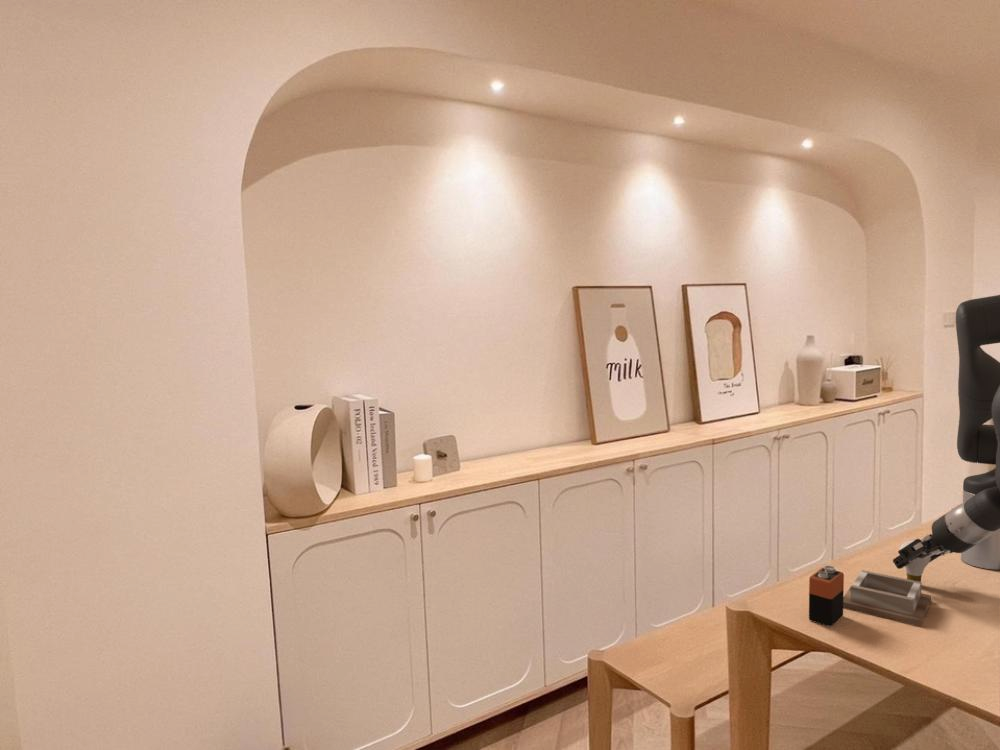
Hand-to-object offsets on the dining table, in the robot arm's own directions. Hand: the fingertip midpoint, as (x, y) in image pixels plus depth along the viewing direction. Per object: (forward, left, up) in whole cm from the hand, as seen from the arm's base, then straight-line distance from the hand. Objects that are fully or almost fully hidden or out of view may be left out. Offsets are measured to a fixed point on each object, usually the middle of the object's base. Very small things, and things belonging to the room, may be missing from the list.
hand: (910, 561), depth 142 cm
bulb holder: (+14, -2, -5) cm, 15 cm away
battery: (+28, -10, -5) cm, 31 cm away
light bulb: (0, +1, -5) cm, 5 cm away
